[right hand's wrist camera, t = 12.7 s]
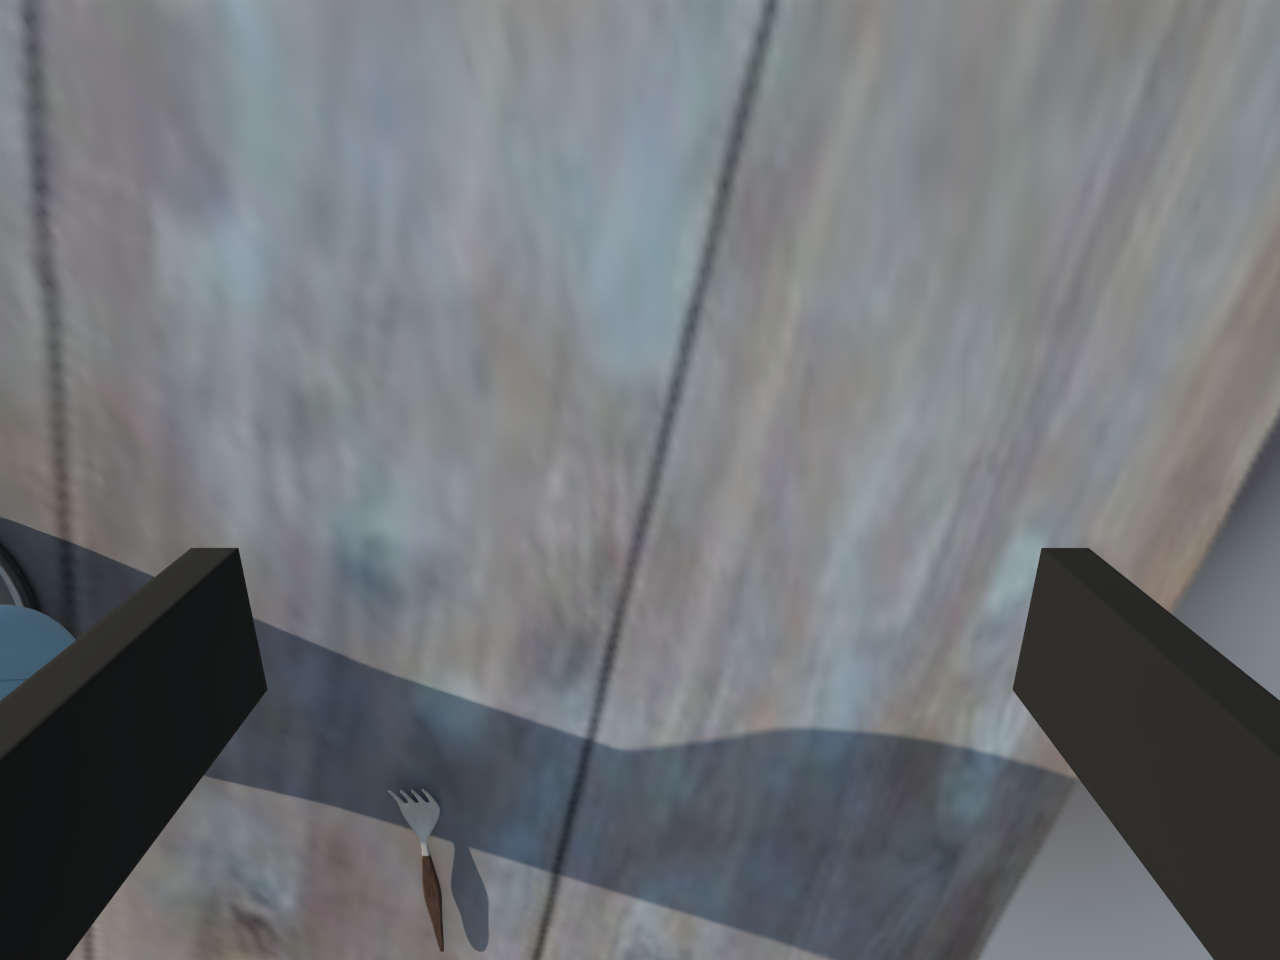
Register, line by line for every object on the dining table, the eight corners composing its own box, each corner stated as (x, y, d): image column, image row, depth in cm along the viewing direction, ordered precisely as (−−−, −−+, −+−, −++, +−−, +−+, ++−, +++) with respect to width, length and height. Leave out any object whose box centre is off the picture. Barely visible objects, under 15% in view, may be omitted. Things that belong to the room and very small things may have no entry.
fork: (426, 945, 56) (418, 971, 54) (394, 768, 50) (384, 791, 48) (461, 944, 56) (455, 970, 54) (434, 767, 50) (426, 790, 48)
